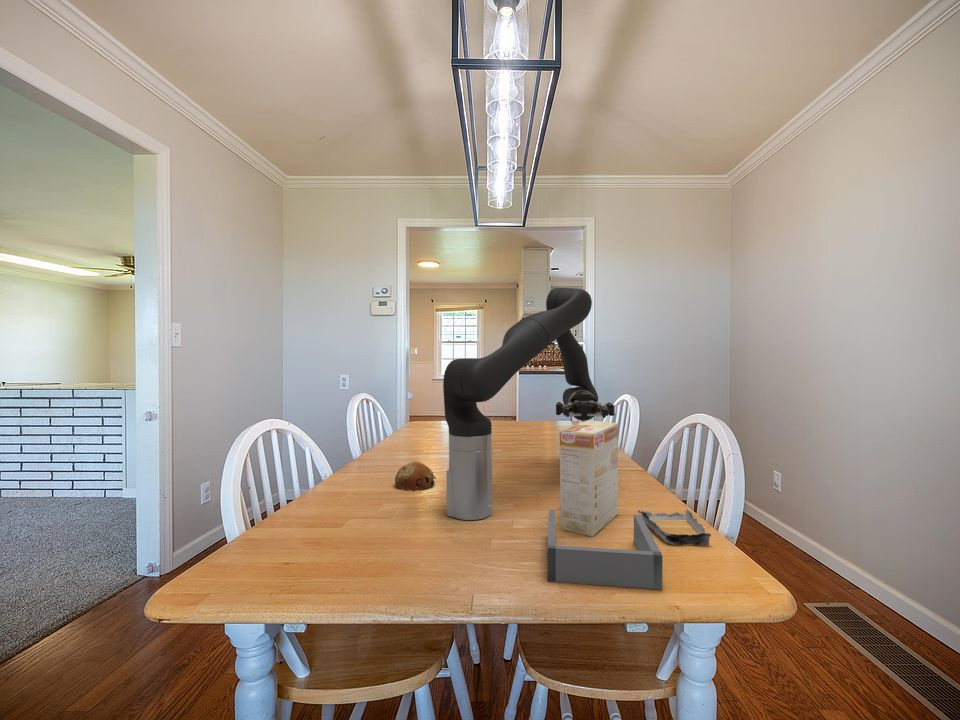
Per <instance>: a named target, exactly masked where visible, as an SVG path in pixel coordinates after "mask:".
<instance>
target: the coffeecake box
mask: <svg viewBox="0 0 960 720" xmlns="http://www.w3.org/2000/svg"><path fill="white" fill-rule="evenodd" d="M618 427H619V426H618V422H606V421H599V420H586V421H582V422H580V423H578V424H575V425H573V426H570V427H567V428H564V429H560V430H558V431H559V497H560V498H559V505H560V506H559V509H560V513H559V517H560V518H559V520H560V527H559V529H560V530H561V531H565V530H567V531H566V532H569V531H570V532H571V533H574V532H575V534H580V535H582V534H583V536H586V535H587V536H586V537H591V538H592V537H595V535H597V533H599V532H600V530H602V529H603V528H604V527H605V526H606V525H607V524H608V523H610V522H611V521H612V520H613V519H614V518H616V516H618V515H619V462H618V461H619V456H618V455H619V449H618V448H619V442H618V440H619V439H618V438H619V436H618V435H619V434H618V431H619V430H618Z"/></svg>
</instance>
